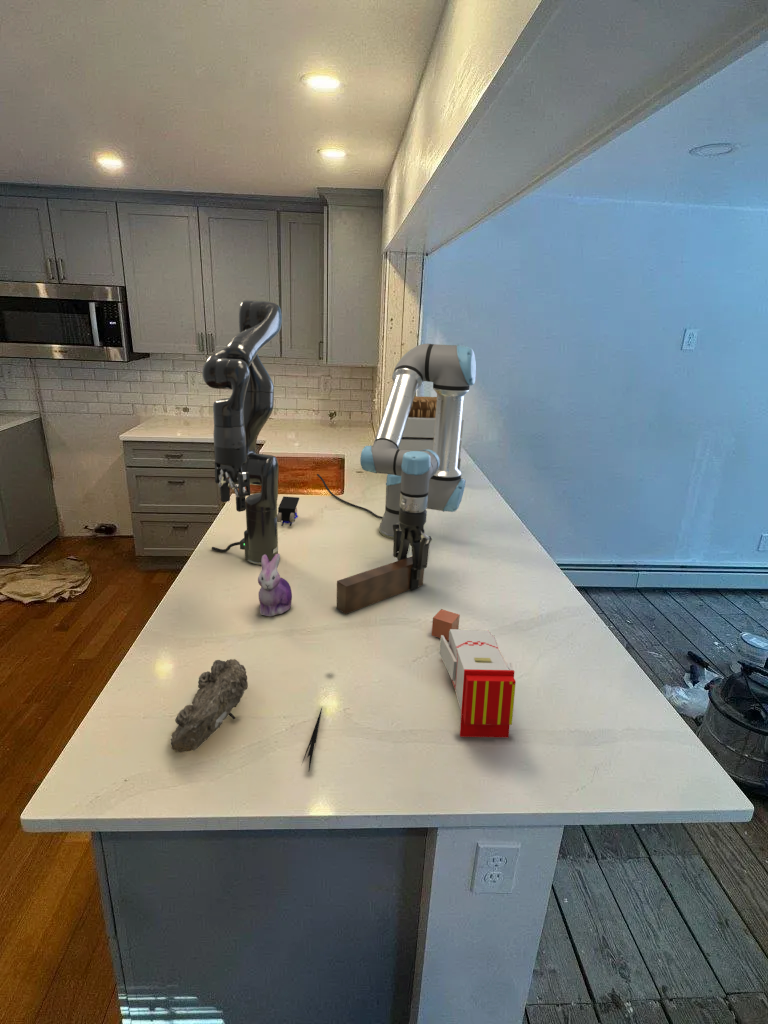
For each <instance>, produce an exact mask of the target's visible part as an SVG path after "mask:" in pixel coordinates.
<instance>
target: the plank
mask: <svg viewBox="0 0 768 1024" xmlns="http://www.w3.org/2000/svg"><path fill="white" fill-rule="evenodd" d="M417 565H418V564H417ZM411 568H413V560H412V555H411V556H407V558H405V559H402V560H399V561H398V560H396V561H393V562H391V563H386V564H384V565H381V566H378V567H375V568H371V569H368V570H366V571H362V572H360V573H357V574H354V575H349V576H348V577H344V578H341V579H338V580H336V609H337V610H338V611H340V612H341V613H343V614H344V615H348V614H349V613H353V612H355V611H358V610H361V609H363V608H366V607H368V606H371V605H373V604H376V603H380V602H381V601H385V600H388V599H389V598H393V597H395V596H398V595H400V594H403V593H405V592H408V591H411V590H410V574H411ZM424 577H425V569H422V570H421V574H420V579H419V583H418V588H419V587H421V586H423V585H424V579H425V578H424Z"/></svg>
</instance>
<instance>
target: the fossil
mask: <svg viewBox="0 0 768 1024" xmlns="http://www.w3.org/2000/svg"><path fill="white" fill-rule="evenodd" d="M197 683H198V684H197V687H198V690H197V691H196V693H195V694H194V697H193V698H192V701H191V704H187V705H185V706H184V707H183V708H182V709H181V710H179V712H178V713H177V715H176V717H175V719H174V721H175V723H176V725H177V726H176V728H175V730H174V731H173V732H172V733H171V735H170V736H171V738H170V747H171V750H172V751H176V752H178V753H186V752H190V751H193V752H195V751H197V750H198V749H199V748H200V747H201V746H202V745H203V744H204V743H205V742H207V741H208V740H209V739H210V737H211V736H212V735H213V734H215V733H216V731H218V730H219V729H220V728H221V726H222V725H223V723H224V721H225V720H226V719H227V718H228V717H230V718H232V720H235V719H236V716H235V715H234V714H233V713H232V710H233V709H235V708H237V706H238V705H239V704H240V702H241V700H242V698H243V696H244V693H245V691H246V690H247V689H248V686H249V685H248V675H247V669H246V668H245V666H244V665H243V664H241V663H240V661H238V660H237V659H236V658H234V659H232V658H230V659H226V660H221V659H216V660H214V661H213V662H212V665H211V667H210V671H208V670H207V671H205V672H201V674H200V675H199V676H198V681H197Z"/></svg>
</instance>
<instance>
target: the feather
mask: <svg viewBox="0 0 768 1024" xmlns="http://www.w3.org/2000/svg"><path fill="white" fill-rule="evenodd" d="M329 675H330V676H331V675H332V674H331V673H330V674H329ZM322 710H323V707H321V708H320V710H319V713H318V716H317V719H316V723H315V725H314V728H313V731H312V733H311V737H310V739H309V742H308V745H307V748H306V751H305V754H304V757H303V760H302V763H301V767H302V765H303V763H304V761H305V758H308V759H309V760H308V762H307V763H308V764H307V766H308V771H310V770H311V766H312V765H311V764H312V760H313V757H315V756H314V755H315V751H316V749H315V746H317V739H318V733H319V729H320V722H321V717H322V712H323V711H322ZM313 754H314V755H313ZM306 755H307V757H306Z"/></svg>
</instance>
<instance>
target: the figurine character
mask: <svg viewBox="0 0 768 1024" xmlns="http://www.w3.org/2000/svg"><path fill="white" fill-rule="evenodd" d="M299 500H300V497H297V496H285V495H284V496H283V497H282V498H281V501H280V503H279V505H278V506H277V523H281V524H280V526H281V527H284V525H285V524H289V526H288V527H292V525H293V523H295V521H296V519H297V518H298V517H299V516H298V508H297V506H298V503H299Z"/></svg>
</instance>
